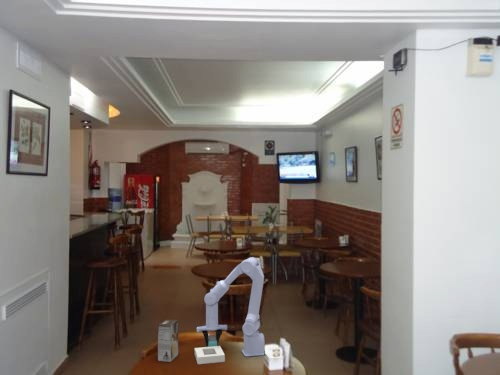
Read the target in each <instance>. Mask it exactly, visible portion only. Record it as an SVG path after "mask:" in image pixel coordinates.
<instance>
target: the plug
mask: <svg viewBox="0 0 500 375" xmlns="http://www.w3.org/2000/svg"><path fill="white" fill-rule="evenodd" d="M212 346H217V340H216V334H208V347H212Z"/></svg>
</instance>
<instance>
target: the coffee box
mask: <svg viewBox="0 0 500 375" xmlns="http://www.w3.org/2000/svg"><path fill="white" fill-rule="evenodd" d="M178 355H179V320H178V319H164V320H163V321H162V322H160V323H159V324H158V325H157V360H158V362H170V363H171V362H172V361H173V360H174V359H175V358H176V357H177V356H178Z"/></svg>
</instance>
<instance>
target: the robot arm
mask: <svg viewBox="0 0 500 375" xmlns="http://www.w3.org/2000/svg"><path fill="white" fill-rule="evenodd" d="M242 274H243V275H244V274H245V275H247V276H248V277H250V279H251V281H252V283H251V284H252V285H251V290H250V296H249V302H248V303H249V304H248V310H247V315H246V318H245V322H244V323H243V325H242V327H241V328H242V332H243V349H241V350H240V351H241V352H242V354H243V356H244V357H245V358H246V357H256V356H257V357H258V356H265V355H264V346H265V345H266V344H265V334H264V333H262V332H260V331H259V329H260V328H261V321H260V318H261V317H260V314H259V313H260V306H261V302H262V301H261V300H262V294H263V293H262V292H263V288H264V280H265V275H264V272H263V270H262V267H261V262H259V261H258V259H257V258H256V257H254V256H252V257H251V256H250V257H248V258H247V259H244V260H242V261H241V263H239V264H237V265H236V267H234V268H233V269H232V271H231V272H230V273H229V275H227V276H226V278H225V279H223V280H220V281H219V280H218V281H216V283H215V286H214V287H212V288H210V290H209V292H208V293H206V294H205V296H204V297H203V298H204V300H203V301H204V303H205V325H202V326H197V327H196V332H197V333H200V332H202V335H203V338H204V341H205V347H208V335H209V332H213V331H215V337H216V340H217V346H219V341H220V338H221V336H222V334H223V330H224V331H227V330H228V325H227V324H219V301H220V300H221V298H222V297H224V295H225V294H226V293H227V291H229V289H230V285H231V284H232V283H233V282H234V281H235V280H236V279H237V278H238V277H239V276H240V275H242Z"/></svg>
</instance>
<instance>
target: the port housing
mask: <svg viewBox="0 0 500 375" xmlns="http://www.w3.org/2000/svg"><path fill="white" fill-rule="evenodd" d="M193 352H194V358H195V360H196V363H197V365H204V364H205V365H206V364H217V363H226V356H225V355H226V354H225V353H224V350H223V349H222V347H221V345H218V346H212V347H207V346H204V347H194V351H193Z"/></svg>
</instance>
